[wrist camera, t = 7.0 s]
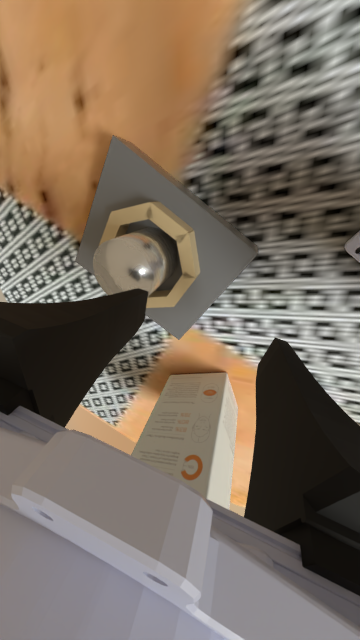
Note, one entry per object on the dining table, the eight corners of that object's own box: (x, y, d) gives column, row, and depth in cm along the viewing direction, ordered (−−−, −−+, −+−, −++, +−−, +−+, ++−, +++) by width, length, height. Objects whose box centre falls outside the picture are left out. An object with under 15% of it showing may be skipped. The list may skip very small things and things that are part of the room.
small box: (184, 405, 31) (145, 517, 20) (169, 373, 28) (115, 480, 18) (239, 407, 27) (227, 543, 17) (228, 371, 25) (205, 503, 14)
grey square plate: (258, 246, 17) (258, 259, 14) (185, 327, 23) (174, 348, 20) (131, 142, 16) (99, 129, 13) (91, 255, 23) (63, 265, 19)
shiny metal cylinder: (185, 241, 16) (160, 258, 12) (168, 288, 19) (143, 314, 15) (136, 217, 16) (96, 227, 12) (126, 267, 19) (90, 287, 15)
